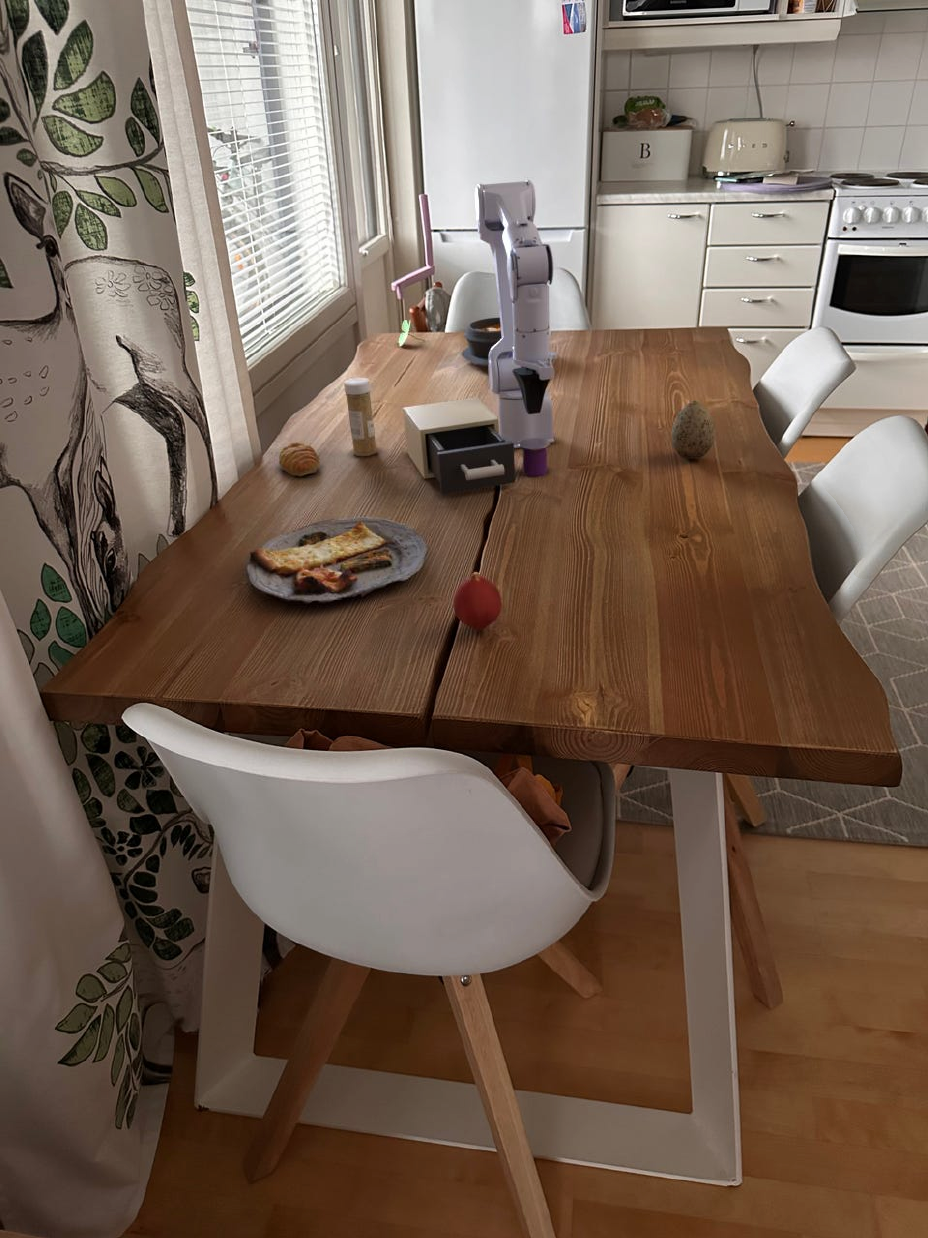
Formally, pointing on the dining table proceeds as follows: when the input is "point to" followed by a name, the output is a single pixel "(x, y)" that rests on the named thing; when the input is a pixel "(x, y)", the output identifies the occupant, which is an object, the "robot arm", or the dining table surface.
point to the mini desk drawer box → (441, 425)
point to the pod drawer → (470, 459)
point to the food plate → (336, 559)
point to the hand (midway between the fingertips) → (533, 412)
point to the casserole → (481, 340)
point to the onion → (477, 602)
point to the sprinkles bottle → (360, 416)
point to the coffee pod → (534, 456)
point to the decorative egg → (693, 431)
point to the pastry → (299, 459)
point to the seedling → (405, 328)
